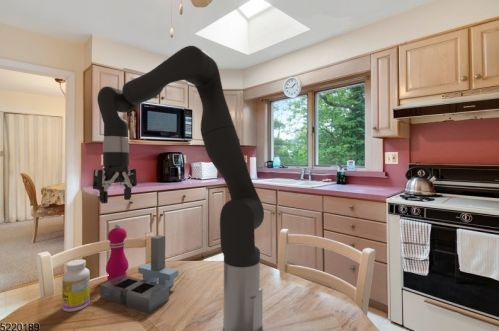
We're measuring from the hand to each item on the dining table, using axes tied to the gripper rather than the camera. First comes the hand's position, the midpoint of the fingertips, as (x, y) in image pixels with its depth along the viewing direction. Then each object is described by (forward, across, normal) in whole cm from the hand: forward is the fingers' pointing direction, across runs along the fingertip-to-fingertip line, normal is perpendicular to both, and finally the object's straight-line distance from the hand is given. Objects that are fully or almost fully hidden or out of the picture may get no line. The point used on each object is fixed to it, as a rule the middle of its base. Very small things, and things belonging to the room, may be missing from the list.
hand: (116, 201), depth 84 cm
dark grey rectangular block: (+29, -1, -9) cm, 31 cm away
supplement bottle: (+30, -11, +3) cm, 32 cm away
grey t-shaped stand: (+29, +9, -9) cm, 32 cm away
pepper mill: (+30, +6, +7) cm, 31 cm away
